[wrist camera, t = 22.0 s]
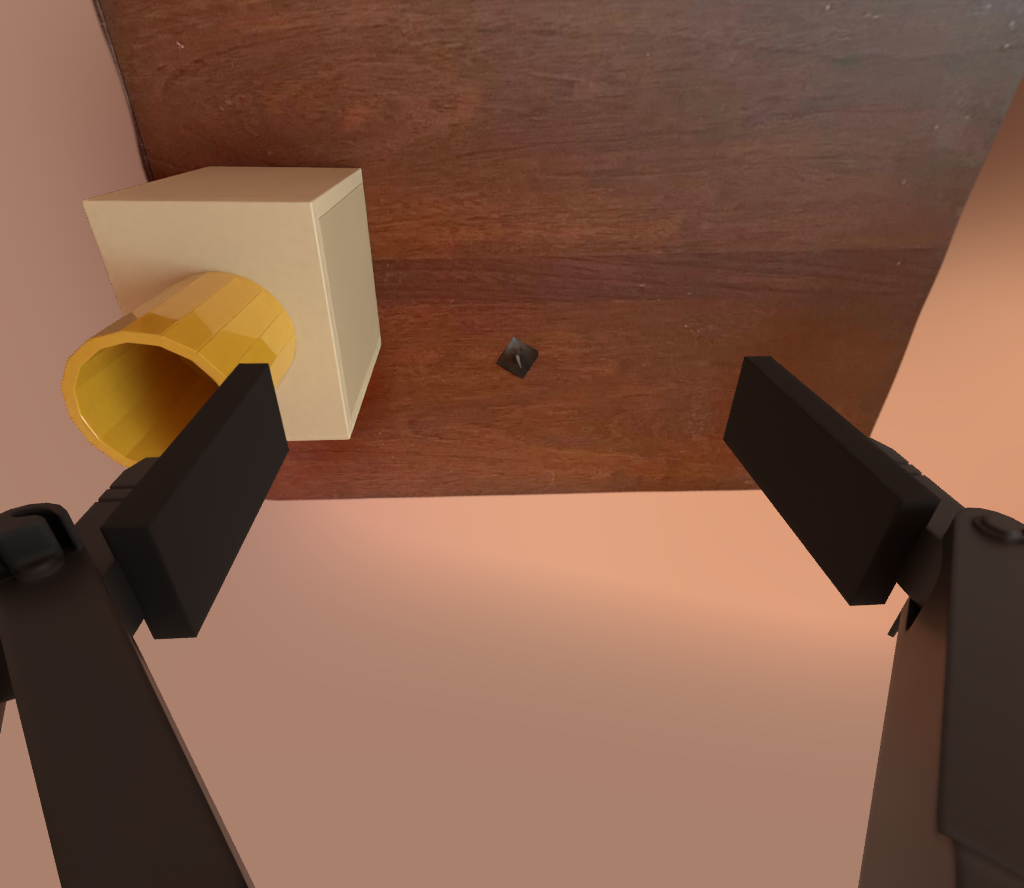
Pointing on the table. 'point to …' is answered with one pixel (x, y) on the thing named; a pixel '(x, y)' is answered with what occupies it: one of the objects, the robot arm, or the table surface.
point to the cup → (172, 361)
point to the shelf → (262, 268)
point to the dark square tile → (518, 358)
